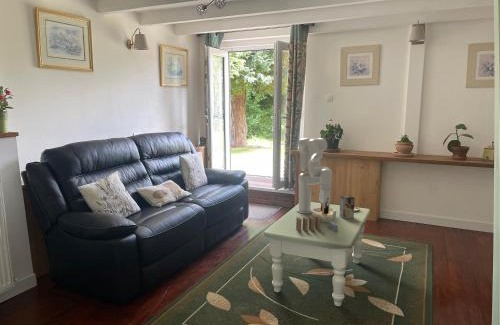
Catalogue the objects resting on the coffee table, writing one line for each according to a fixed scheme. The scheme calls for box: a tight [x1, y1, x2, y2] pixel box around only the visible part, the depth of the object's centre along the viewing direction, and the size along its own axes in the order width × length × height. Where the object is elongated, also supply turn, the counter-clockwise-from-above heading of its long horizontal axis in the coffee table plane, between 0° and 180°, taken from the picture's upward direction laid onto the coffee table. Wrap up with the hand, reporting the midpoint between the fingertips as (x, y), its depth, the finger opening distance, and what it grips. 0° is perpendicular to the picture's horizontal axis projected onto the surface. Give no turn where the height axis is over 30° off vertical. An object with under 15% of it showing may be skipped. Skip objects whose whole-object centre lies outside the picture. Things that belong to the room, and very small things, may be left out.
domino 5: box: [321, 203, 328, 218], centre depth 246 cm, size 6×2×9 cm, turn 8°
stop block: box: [328, 220, 339, 232], centre depth 249 cm, size 8×3×4 cm, turn 8°
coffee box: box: [339, 195, 356, 219], centre depth 274 cm, size 9×6×16 cm
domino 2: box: [301, 216, 309, 233], centre depth 246 cm, size 6×2×9 cm, turn 8°
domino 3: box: [308, 215, 315, 232], centre depth 246 cm, size 6×2×9 cm, turn 8°
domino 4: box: [314, 215, 322, 232], centre depth 247 cm, size 6×2×9 cm, turn 8°
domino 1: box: [295, 216, 303, 233], centre depth 245 cm, size 6×2×9 cm, turn 8°
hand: (324, 212), depth 246 cm, fingers closed on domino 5, 5 cm apart
